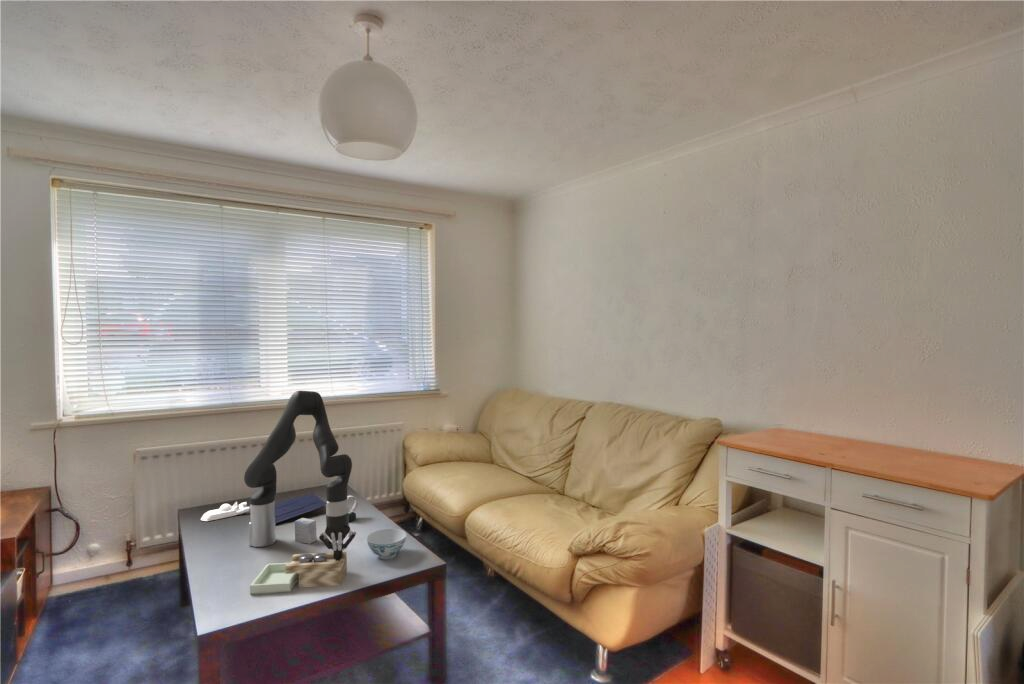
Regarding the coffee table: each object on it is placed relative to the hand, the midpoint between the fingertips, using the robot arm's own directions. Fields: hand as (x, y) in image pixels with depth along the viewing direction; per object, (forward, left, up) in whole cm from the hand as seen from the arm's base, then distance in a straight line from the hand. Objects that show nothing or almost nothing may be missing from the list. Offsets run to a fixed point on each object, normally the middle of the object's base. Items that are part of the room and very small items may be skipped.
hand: (338, 559), depth 187 cm
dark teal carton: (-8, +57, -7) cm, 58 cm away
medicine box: (-21, +35, -7) cm, 41 cm away
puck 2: (-6, 0, -1) cm, 6 cm away
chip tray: (-21, 0, -7) cm, 22 cm away
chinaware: (+15, +17, -7) cm, 23 cm away
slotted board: (-7, 0, -7) cm, 10 cm away
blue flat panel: (-39, +69, -7) cm, 79 cm away
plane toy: (-68, +70, -7) cm, 98 cm away
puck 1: (-11, 0, -1) cm, 11 cm away
